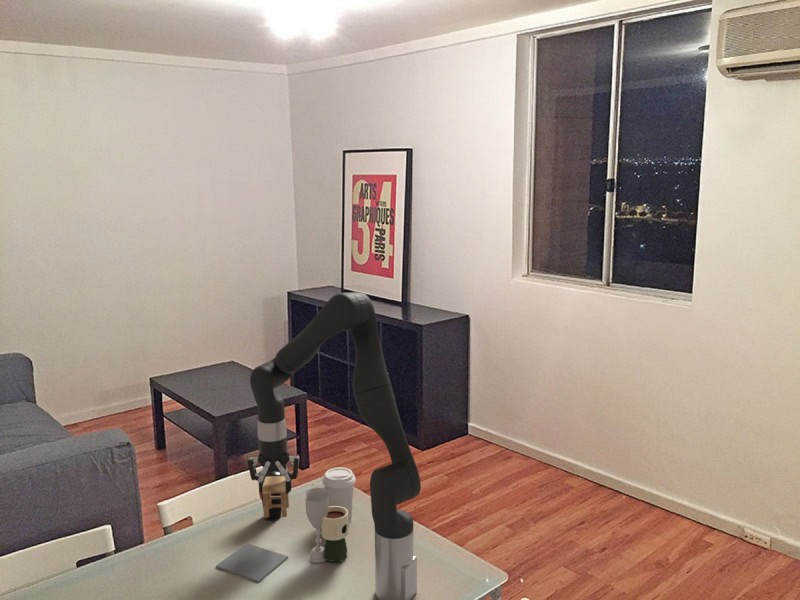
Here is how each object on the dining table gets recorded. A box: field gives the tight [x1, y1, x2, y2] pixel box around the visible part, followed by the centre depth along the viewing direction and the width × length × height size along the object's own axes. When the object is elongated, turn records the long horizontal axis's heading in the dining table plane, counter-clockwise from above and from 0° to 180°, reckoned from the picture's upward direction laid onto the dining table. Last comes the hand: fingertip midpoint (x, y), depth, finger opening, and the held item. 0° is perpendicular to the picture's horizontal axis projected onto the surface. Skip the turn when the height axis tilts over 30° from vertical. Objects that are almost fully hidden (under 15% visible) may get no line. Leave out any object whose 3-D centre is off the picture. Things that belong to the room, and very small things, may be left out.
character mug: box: [320, 506, 350, 562], centre depth 180 cm, size 11×7×13 cm, turn 177°
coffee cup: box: [321, 467, 357, 526], centre depth 198 cm, size 10×10×15 cm
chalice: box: [303, 487, 330, 563], centre depth 180 cm, size 7×7×18 cm
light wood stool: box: [262, 476, 290, 519], centre depth 188 cm, size 6×6×9 cm
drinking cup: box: [257, 470, 283, 522], centre depth 200 cm, size 8×8×20 cm
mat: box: [215, 542, 289, 584], centre depth 180 cm, size 14×12×1 cm
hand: (275, 492), depth 187 cm, fingers closed on light wood stool, 6 cm apart
